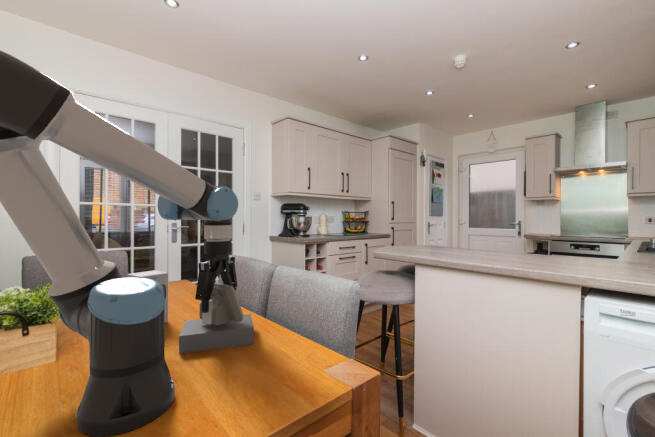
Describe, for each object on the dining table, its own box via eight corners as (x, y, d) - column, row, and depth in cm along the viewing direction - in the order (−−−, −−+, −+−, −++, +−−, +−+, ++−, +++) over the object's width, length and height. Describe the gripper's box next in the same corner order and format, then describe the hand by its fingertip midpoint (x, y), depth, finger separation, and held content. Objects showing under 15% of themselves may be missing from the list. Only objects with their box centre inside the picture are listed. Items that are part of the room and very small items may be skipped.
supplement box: (138, 330, 93) (138, 277, 93) (125, 324, 99) (125, 273, 98) (169, 321, 101) (169, 272, 101) (155, 316, 106) (155, 269, 106)
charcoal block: (253, 345, 84) (253, 327, 84) (179, 355, 78) (179, 336, 78) (250, 329, 95) (250, 314, 95) (185, 337, 89) (185, 320, 89)
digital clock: (246, 322, 83) (246, 284, 83) (213, 330, 78) (213, 289, 78) (224, 308, 96) (224, 275, 96) (194, 314, 90) (194, 279, 90)
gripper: (228, 237, 98) (228, 305, 98) (179, 242, 77) (179, 330, 77) (249, 237, 96) (249, 307, 96) (204, 243, 75) (204, 333, 75)
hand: (218, 317), depth 87 cm, fingers closed on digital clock, 9 cm apart
